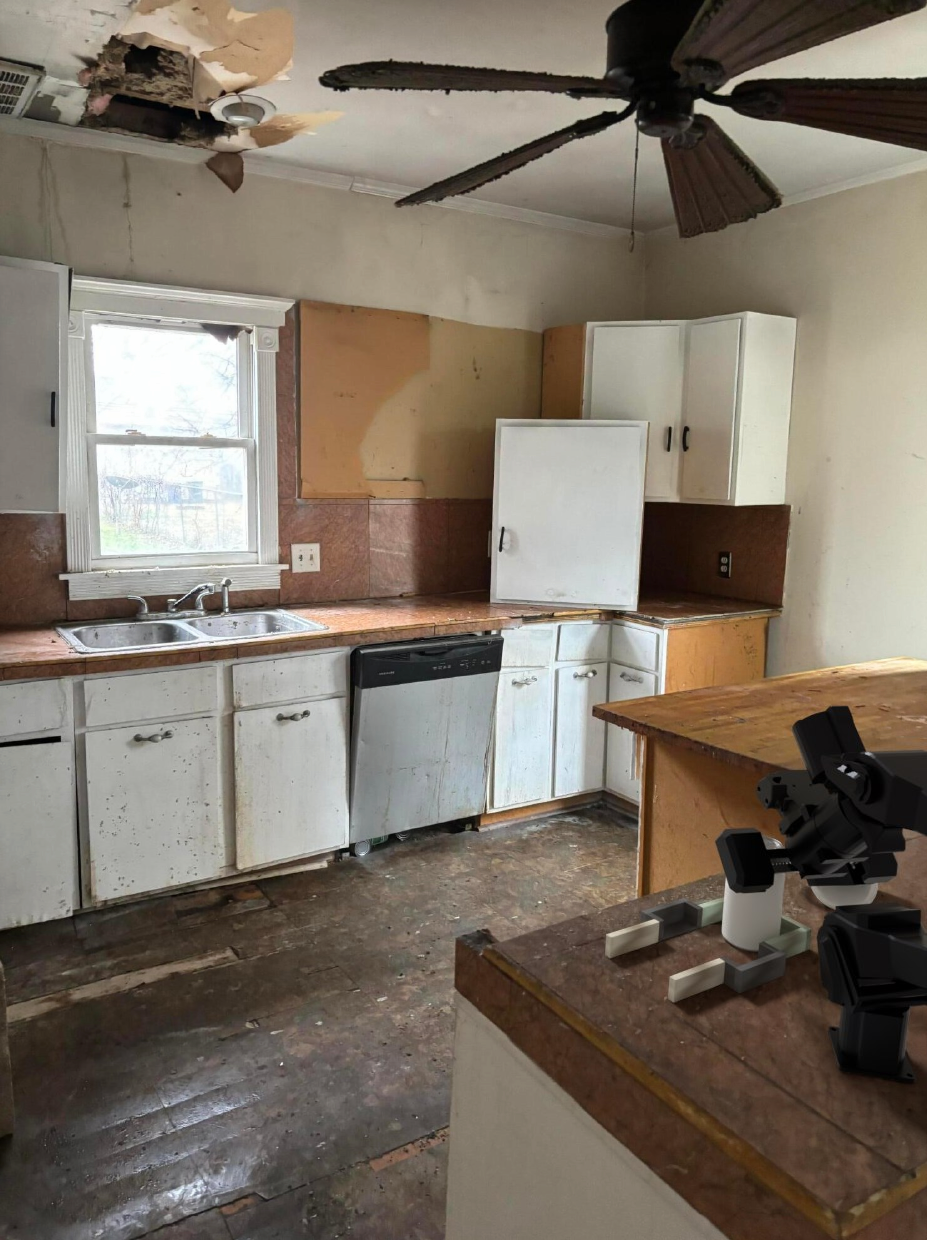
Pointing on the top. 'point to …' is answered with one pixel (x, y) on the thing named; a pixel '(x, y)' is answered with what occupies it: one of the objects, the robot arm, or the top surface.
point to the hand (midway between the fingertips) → (771, 884)
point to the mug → (845, 894)
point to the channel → (691, 916)
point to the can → (754, 911)
